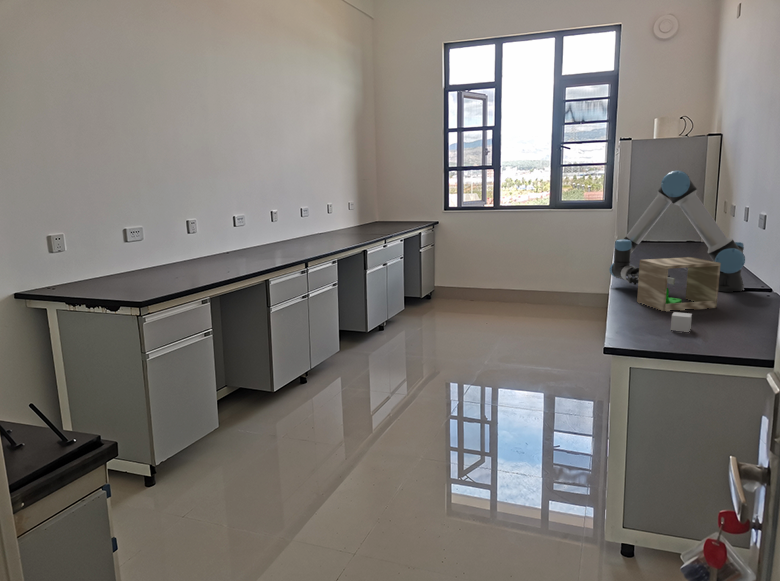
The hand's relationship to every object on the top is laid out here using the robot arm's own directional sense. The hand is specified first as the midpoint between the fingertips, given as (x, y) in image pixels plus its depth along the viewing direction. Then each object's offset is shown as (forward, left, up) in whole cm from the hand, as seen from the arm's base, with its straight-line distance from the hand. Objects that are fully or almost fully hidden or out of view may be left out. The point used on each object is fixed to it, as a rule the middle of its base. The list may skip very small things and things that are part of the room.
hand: (660, 282), depth 254 cm
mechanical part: (+1, +9, -9) cm, 12 cm away
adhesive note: (+24, +46, -8) cm, 53 cm away
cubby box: (0, +10, -8) cm, 13 cm away
